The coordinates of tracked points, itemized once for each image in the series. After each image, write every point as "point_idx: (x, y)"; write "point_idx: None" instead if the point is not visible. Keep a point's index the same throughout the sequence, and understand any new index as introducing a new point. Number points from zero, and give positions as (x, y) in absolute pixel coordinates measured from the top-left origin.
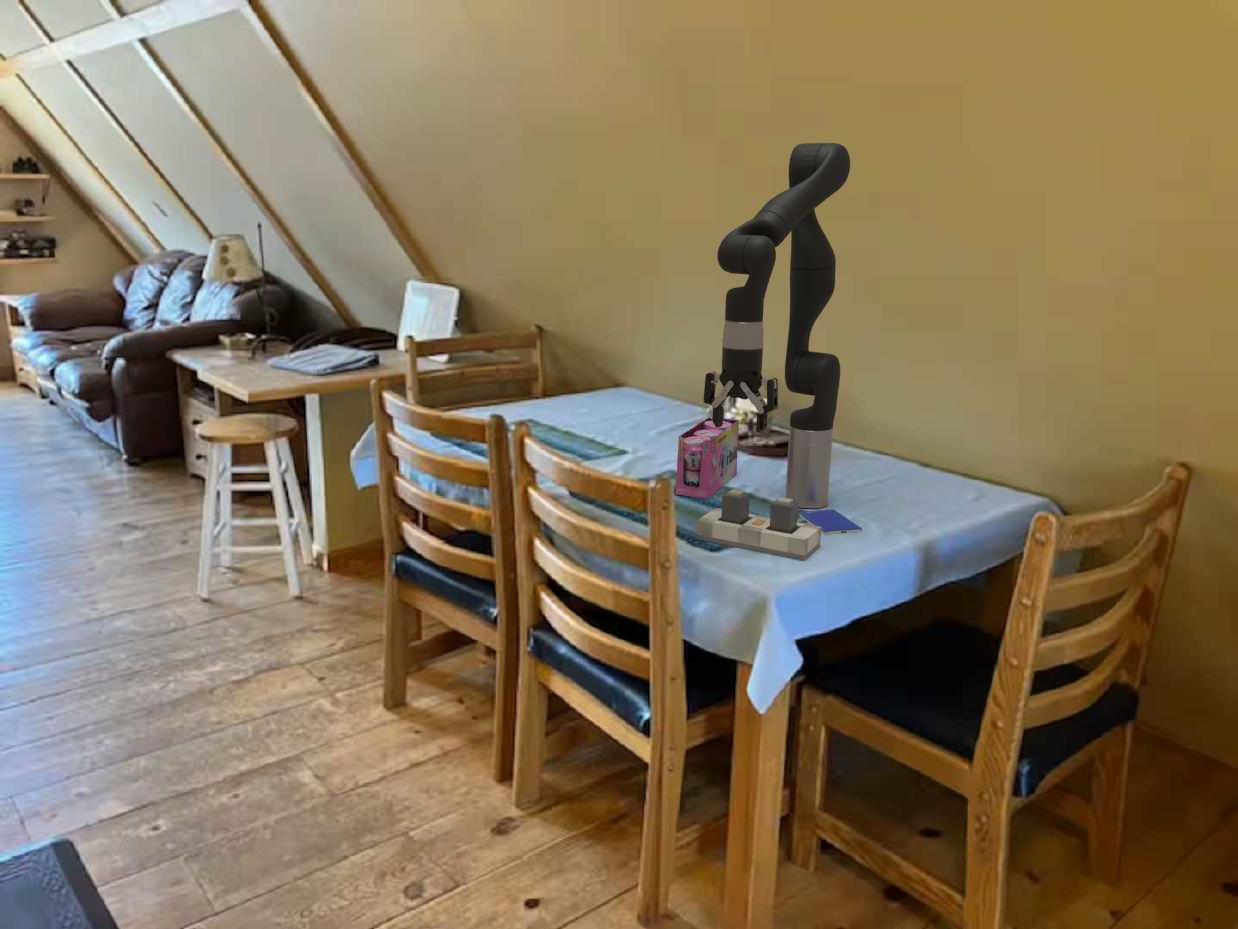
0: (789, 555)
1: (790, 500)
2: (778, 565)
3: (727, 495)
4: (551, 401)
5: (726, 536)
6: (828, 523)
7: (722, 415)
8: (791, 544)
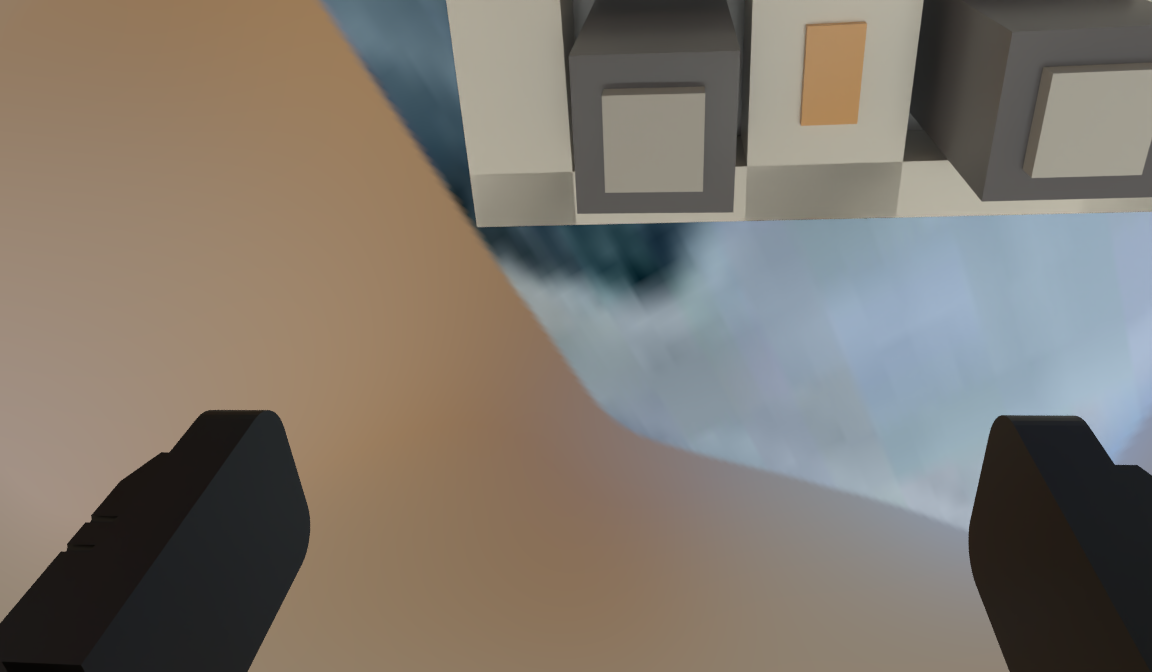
0: None
1: (1150, 118)
2: (1012, 290)
3: (609, 195)
4: None
5: None
6: None
7: (196, 546)
8: None
